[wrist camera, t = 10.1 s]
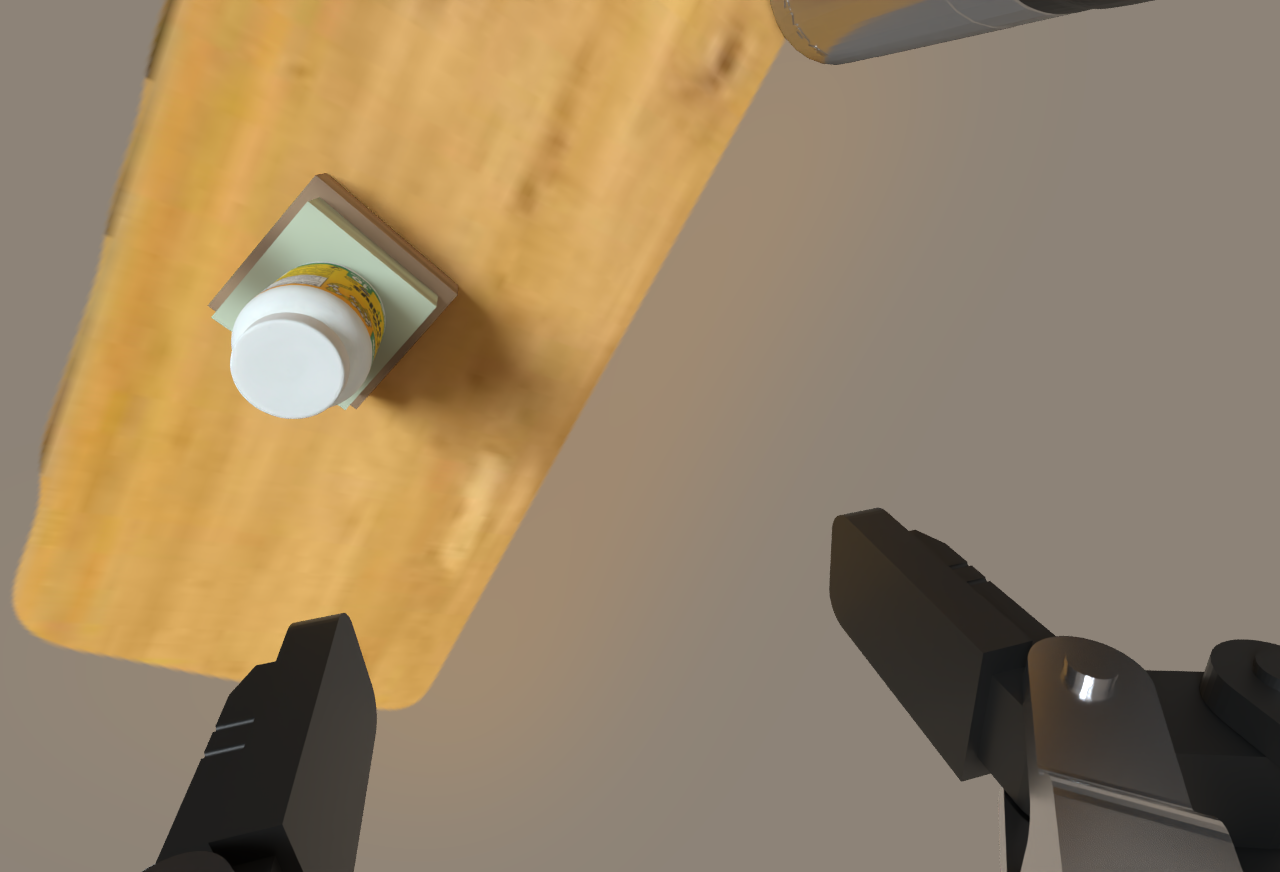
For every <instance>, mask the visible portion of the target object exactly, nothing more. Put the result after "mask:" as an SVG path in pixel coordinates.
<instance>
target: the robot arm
mask: <svg viewBox="0 0 1280 872" xmlns="http://www.w3.org/2000/svg"><path fill="white" fill-rule="evenodd" d="M1148 1H1153V0H770V3H771V7H772V10H773V13H774V16H775V19H776V22H777V24H778V26H779V27H780V29H781V31H782V33H783V35H784V36H785V38H786V39H787V40H788V41H789V42H790V43H791V45H792V46H793V47H794V48H795V49H796V50H797V51H799V52H800V53H802V54H803V55H804V56H806V57H807V58H809V59H812V60H814V61H817V62H820V63H823V64H833V65H838V64H844V63H850V62H855V61H859V60H864V59H868V58H873V57H879V56H884V55H888V54H893V53H897V52H902V51H907V50H911V49H916V48H920V47H925V46H929V45H933V44H938V43H942V42H947V41H951V40H956V39H961V38H965V37H970V36H974V35H979V34H983V33H988V32H993V31H997V30H1002V29H1006V28H1011V27H1014V26H1018V25H1023V24H1027V23H1032V22H1036V21H1041V20H1045V19H1049V18H1054V17H1059V16H1063V15H1068V14H1071V13H1077V12H1081V11H1086V10H1090V9H1106V8H1114V7H1120V6H1127V5H1133V4H1138V3H1143V2H1148ZM829 590H830V599H831V604H832V607H833V611H834V613H835V616H836V618H837V620H838V621H839V623H840V625H841V626H842V628H843V629H844V630H845V632H846V633H847V634H848V635H849V637H850V638H851V639H852V641H853V642H854V643H855V645H856V646H857V647H858V648H859V650H860V651H861V652H862V654H863V655H864V656H865V657H866V659H867V660H868V661H869V663H870V664H871V665H872V666H873V668H874V669H875V670H876V672H877V673H878V674H879V676H880V677H881V678H882V679H883V681H884V682H885V683H886V685H887V686H888V687H889V689H890V690H891V691H892V692H893V694H894V695H895V696H896V698H897V699H898V700H899V702H900V703H901V704H902V705H903V707H904V708H905V709H906V711H907V712H908V713H909V714H910V716H911V717H912V718H913V720H914V721H915V722H916V724H917V725H918V726H919V727H920V729H921V730H922V731H923V733H924V734H925V735H926V736H927V738H928V739H929V740H930V742H931V743H932V744H933V746H934V747H935V748H936V749H937V751H938V752H939V753H940V755H941V756H942V757H943V759H944V760H945V761H946V762H947V764H948V765H949V766H950V768H951V769H952V770H953V771H954V773H955V774H956V775H957V777H958V778H959V779H960V781H966V780H969V779H972V778H976V777H979V776H983V775H987V774H990V773H991V774H992V775H993V776H994V778H995V779H996V780H997V781H998V782H999V784H1000V785H1001V788H1000V793H999V800H998V813H999V843H1000V844H999V845H1000V872H1280V645H1276V644H1271V643H1268V642H1262V641H1256V640H1230V641H1226V642H1222V643H1220V644H1218V645H1217V646H1215V647H1214V649H1213V650H1212V652H1211V655H1210V658H1209V660H1208V663H1207V666H1206V669H1205V672H1187V671H1186V672H1185V671H1148V670H1147V671H1146V670H1144V669H1143V668H1142V667H1141V666H1140V665H1139V664H1138V663H1136V662H1135V661H1134V660H1132V659H1131V658H1129V657H1128V656H1126V655H1125V654H1123V653H1122V652H1120V651H1118V650H1116V649H1114V648H1112V647H1110V646H1107V645H1105V644H1102V643H1099V642H1096V641H1093V640H1088V639H1085V638H1079V637H1072V636H1055V635H1054V634H1053V633H1051V632H1050V631H1049V630H1048V629H1047V628H1045V627H1044V626H1043V625H1042V624H1041V623H1039V622H1038V621H1037V620H1036V619H1035V618H1033V617H1032V616H1031V615H1030V614H1028V613H1027V612H1026V611H1025V610H1024V609H1023V608H1021V607H1020V606H1019V605H1018V604H1017V603H1016V602H1014V601H1013V600H1012V599H1011V598H1010V597H1008V596H1007V595H1006V594H1005V593H1004V592H1002V591H1001V590H1000V589H999V588H998V587H996V586H995V585H994V584H993V583H992V582H990V581H989V582H987V581H986V579H985V577H984V576H983V575H982V574H981V573H980V572H979V571H977V570H976V569H975V568H974V567H973V566H968V564H967V561H965V560H964V559H963V558H962V557H961V556H960V555H958V554H957V553H956V552H955V551H954V550H952V549H951V548H950V547H949V546H948V545H946V544H945V543H943V542H941V541H939V540H937V539H934V538H932V537H930V536H928V535H925V534H923V533H921V532H919V531H917V530H912V531H908V530H907V529H906V528H905V527H903V526H902V525H901V524H900V523H899V522H898V521H896V520H895V519H894V518H893V517H892V516H891V515H890V514H888V513H887V512H886V511H885V510H883V509H881V508H874V509H869V510H864V511H859V512H854V513H849V514H844V515H839V516H837V517H836V518H835V520H834V522H833V526H832V544H831V566H830V588H829ZM376 724H377V714H376V702H375V696H374V691H373V687H372V684H371V681H370V678H369V675H368V672H367V668H366V665H365V662H364V659H363V656H362V653H361V650H360V647H359V643H358V640H357V637H356V634H355V631H354V628H353V625H352V622H351V620H350V618H349V616H348V615H347V614H346V613H341V614H336V615H331V616H326V617H321V618H316V619H311V620H306V621H301V622H296V623H292V624H291V625H290V626H289V628H288V630H287V633H286V636H285V638H284V641H283V644H282V646H281V649H280V652H279V654H278V657H277V660H276V661H275V662H271V663H266V664H261V665H256V666H255V667H254V668H253V669H252V670H251V672H250V673H249V674H248V675H247V676H246V677H245V678H244V679H243V680H242V681H241V683H240V684H239V685H238V686H237V687H236V688H235V689H234V690H233V691H232V692H231V694H230V695H229V697H228V699H227V701H226V703H225V706H224V708H223V710H222V713H221V715H220V717H219V719H218V722H217V724H216V732H213V733H212V735H211V738H210V740H209V742H208V745H207V747H206V749H205V751H204V753H205V757H204V758H203V759H201V761H200V763H199V765H198V767H197V770H196V772H195V775H194V777H193V779H192V781H191V784H190V786H189V788H188V790H187V793H186V795H185V797H184V800H183V802H182V804H181V806H180V809H179V811H178V813H177V816H176V818H175V820H174V822H173V825H172V827H171V829H170V832H169V834H168V836H167V839H166V841H165V843H164V845H163V848H162V850H161V852H160V855H159V857H158V859H157V861H156V863H155V864H154V865H152V866H150V867H148V868H147V869H145V870H144V871H142V872H354V866H355V859H356V854H357V847H358V841H359V835H360V828H361V822H362V816H363V810H364V803H365V797H366V791H367V785H368V778H369V772H370V765H371V759H372V753H373V747H374V741H375V734H376Z"/></svg>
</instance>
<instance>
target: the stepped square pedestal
mask: <svg viewBox="0 0 1280 872" xmlns="http://www.w3.org/2000/svg"><path fill="white" fill-rule="evenodd" d="M311 262H332V263H337V264H340V265H344V266H346V267H348V268H350V269H352V270H353V271H355V272H356V273H358V274H359V275H360V276H362V277H363V278H364V279H365V280H366V281H367V282H369V283H370V284H371V285H372V287H373V288H374V289H375V290H376V292H377V293H378V295H379V297H380V299H381V301H382V304H383V307H384V311H385V319H386V323H385V331H384V334H383V337H382V340H381V343H380V345H379V347H378V350H377V353H376V356H375V358H374V360H373V363H372V366H371V368H370V371H369V374H368V376H367V378H366V380H365V382H364V383H363V384H362V386H361V387H360V388H359V389H358V390H357V391H356V392H355V394H353V395H352V396H351V397H350V398H348V399H347V400H345V401H343V402H342V403H340V404H338V405H339V406H340V407H342V408H343V409H345V410H346V409H347V408H348V406H349V405H351V406H352V407H354V408H355V409H357V408H358V407H359V406H360V404H361V403H362V402H363V401H364V400H365V399H366V398H367V397H368V395H369V394H370V393H371V392H372V391H373V390H374V389H375V388H376V386H377V385H378V384H379V383H380V382H381V381H382V380H383V379H384V377H385V376H386V375H387V374H388V373H389V372H390V371H391V369H392V368H393V367H394V366H395V365H396V364H397V363H398V362H399V360H400V359H401V358H402V357H403V356H404V355H405V354H406V353H407V351H408V350H409V349H410V348H411V347H412V346H413V345H414V344H415V342H416V341H417V340H418V339H419V338H420V337H421V336H422V335H423V333H424V332H425V331H426V330H427V329H428V328H429V327H430V325H431V324H432V323H433V322H434V321H435V320H436V319H437V318H438V316H439V315H440V314H441V313H442V312H443V311H444V310H445V309H446V307H447V306H448V305H449V304H450V303H451V302H452V301H453V300H454V298H455V297H456V296H457V295H458V285H457V284H456V283H455V282H453V281H452V280H451V279H450V278H449V277H448V276H446V275H445V274H444V273H443V272H442V271H440V270H439V269H438V268H437V267H436V266H435V265H433V264H432V263H431V262H430V261H429V260H428V259H426V258H425V257H424V256H423V255H422V254H421V253H419V252H418V251H417V250H416V249H415V248H413V247H412V246H411V245H410V244H409V243H408V242H406V241H405V240H404V239H403V238H402V237H401V236H399V235H398V234H397V233H396V232H395V231H394V230H392V229H391V228H390V227H389V226H388V225H387V224H385V223H384V222H383V221H382V220H381V219H379V218H378V217H377V216H376V215H375V214H374V213H372V212H371V211H370V210H369V209H368V208H367V207H365V206H364V205H363V204H362V203H361V202H360V201H358V200H357V199H356V198H355V197H354V196H352V195H351V194H350V193H349V192H348V191H347V190H345V189H344V188H343V187H342V186H341V185H340V184H338V183H337V182H336V181H335V180H334V179H333V178H331V177H330V176H329V175H328V174H327V173H324V174H319V175H315V177H314V178H313V179H312V180H311V181H310V183H309V184H308V185H307V186H306V187H305V189H304V190H303V191H302V192H301V193H300V195H299V196H298V197H297V198H296V200H295V201H294V202H293V203H292V204H291V206H290V207H289V208H288V209H287V210H286V212H285V213H284V214H283V215H282V216H281V218H280V219H279V220H278V221H277V222H276V224H275V225H274V226H273V227H272V229H271V230H270V231H269V232H268V233H267V235H266V236H265V237H264V238H263V239H262V241H261V242H260V243H259V244H258V245H257V247H256V248H255V249H254V250H253V251H252V253H251V254H250V255H249V256H248V258H247V259H246V260H245V261H244V262H243V264H242V265H241V266H240V267H239V268H238V270H237V271H236V272H235V273H234V274H233V276H232V277H231V278H230V279H229V280H228V282H227V283H226V284H225V285H224V287H223V288H222V289H221V290H220V291H219V293H218V294H217V295H216V296H215V297H214V299H213V300H212V301H211V302H210V303H209V305H208V306H209V307H210V308H212V309H213V310H215V311H216V312H215V313H214V315H213V316H212V317H211V318H213V319H214V320H216V321H217V322H219V323H220V324H221V325H223V326H224V327H226V328H227V329H229V330H230V331H232V330H233V327H234V323H235V321H236V319H237V317H238V315H239V314H240V312H241V310H242V309H243V308H244V307H245V306H246V304H247V303H249V302H250V301H251V300H252V299H253V298H254V297H255V296H257V295H258V294H259V293H261V292H262V291H263V290H264V289H266V288H267V287H269V286H270V285H271V284H272V283H274V282H275V281H276V280H277V279H279V278H280V277H281V276H283V275H284V274H285V273H287V272H288V271H290V270H292V269H293V268H295V267H298V266H300V265H303V264H306V263H311Z"/></svg>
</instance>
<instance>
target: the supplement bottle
mask: <svg viewBox="0 0 1280 872" xmlns="http://www.w3.org/2000/svg"><path fill="white" fill-rule="evenodd" d="M385 323H386V319H385V311H384V307H383V304H382V301H381V299H380V297H379V295H378V293H377V292H376V290H375V289H374V288H373V287H372V285H371V284H370V283H369V282H367V281H366V280H365V279H364V278H363V277H362V276H360V275H359V274H358V273H356V272H355V271H353V270H352V269H350V268H348V267H346V266H344V265H340V264H337V263H332V262H311V263H306V264H303V265H300V266H298V267H295V268H293V269H292V270H290V271H288V272H287V273H285V274H284V275H283V276H281V277H280V278H279V279H277V280H276V281H275V282H274V283H272V284H271V285H270V286H269V287H267V288H266V289H264V290H263V291H262V292H261V293H259V294H258V295H257V296H255V297H254V298H253V299H252V300H251V301H250V302H249V303H247V304H246V306H245V307H244V308H243V309H242V310H241V312H240V314H239V315H238V317H237V319H236V321H235V323H234V327H233V330H232V338H231V345H232V353H231V359H230V368H231V374H232V377H233V380H234V382H235V385H236V387H237V388H238V390H239V391H240V393H241V394H242V395H243V397H244V398H245V399H246V400H247V401H248V402H250V403H251V404H252V405H253V406H255V407H256V408H258V409H260V410H261V411H263V412H265V413H268V414H270V415H273V416H276V417H280V418H287V419H301V418H307V417H311V416H314V415H317V414H319V413H321V412H323V411H324V410H326V409H327V408H329V407H332V406H335V405H338V404H340V403H342V402H343V401H345V400H347V399H348V398H350V397H351V396H352V395H353V394H355V392H356V391H357V390H358V389H359V388H360V387H361V386H362V384H363V383H364V382H365V380H366V378H367V376H368V374H369V371H370V368H371V366H372V363H373V360H374V358H375V356H376V353H377V350H378V347H379V345H380V343H381V340H382V337H383V334H384V331H385Z"/></svg>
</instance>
